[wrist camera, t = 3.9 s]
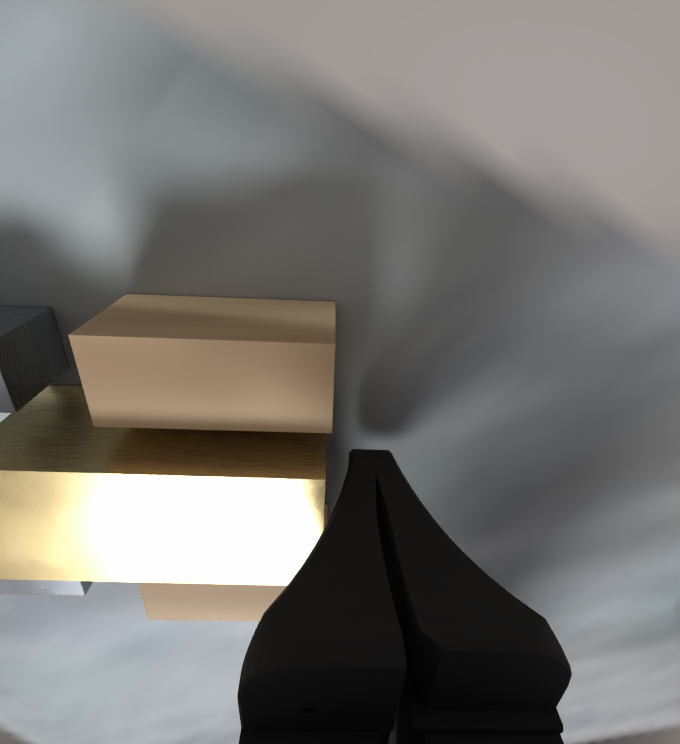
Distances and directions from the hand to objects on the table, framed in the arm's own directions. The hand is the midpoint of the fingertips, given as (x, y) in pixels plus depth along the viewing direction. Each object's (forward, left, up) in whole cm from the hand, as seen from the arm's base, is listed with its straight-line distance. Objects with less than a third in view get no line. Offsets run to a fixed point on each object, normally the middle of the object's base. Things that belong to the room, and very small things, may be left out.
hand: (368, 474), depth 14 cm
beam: (0, +4, -1) cm, 4 cm away
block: (0, +6, -1) cm, 6 cm away
